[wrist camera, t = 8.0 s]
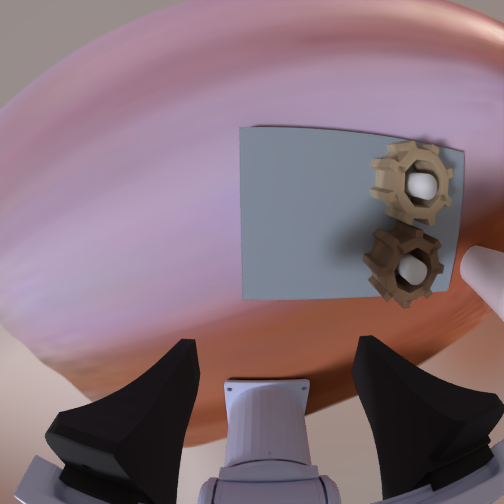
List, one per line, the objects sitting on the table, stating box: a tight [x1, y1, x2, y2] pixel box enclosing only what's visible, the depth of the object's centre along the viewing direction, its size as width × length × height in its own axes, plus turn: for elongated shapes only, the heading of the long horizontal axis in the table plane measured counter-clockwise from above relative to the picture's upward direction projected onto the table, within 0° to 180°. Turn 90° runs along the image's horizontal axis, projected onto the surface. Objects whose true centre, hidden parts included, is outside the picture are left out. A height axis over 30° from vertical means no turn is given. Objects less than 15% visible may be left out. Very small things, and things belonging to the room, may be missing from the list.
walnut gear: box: [363, 221, 444, 308], centre depth 17 cm, size 5×5×3 cm
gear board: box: [239, 127, 464, 300], centre depth 17 cm, size 12×18×5 cm, turn 90°
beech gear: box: [369, 141, 454, 226], centre depth 16 cm, size 5×5×3 cm
